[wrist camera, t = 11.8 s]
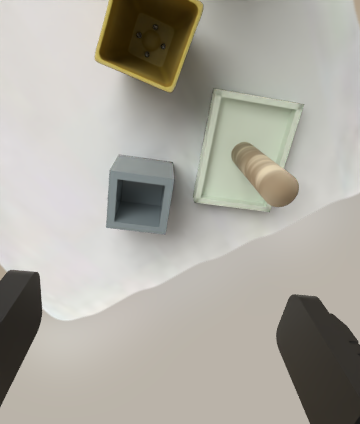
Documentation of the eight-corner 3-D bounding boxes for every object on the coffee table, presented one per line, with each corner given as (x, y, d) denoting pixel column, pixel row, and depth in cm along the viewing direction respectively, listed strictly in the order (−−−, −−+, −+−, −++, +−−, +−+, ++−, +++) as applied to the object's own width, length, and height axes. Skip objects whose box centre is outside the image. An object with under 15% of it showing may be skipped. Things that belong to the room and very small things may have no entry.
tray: (213, 88, 40) (216, 89, 37) (296, 102, 41) (304, 104, 39) (192, 196, 46) (194, 202, 44) (264, 205, 47) (269, 212, 45)
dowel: (234, 140, 42) (268, 170, 28) (258, 144, 42) (303, 176, 28) (228, 164, 43) (258, 204, 30) (251, 167, 44) (292, 209, 30)
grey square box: (118, 154, 43) (109, 170, 35) (172, 162, 44) (174, 179, 36) (115, 203, 46) (106, 227, 39) (165, 210, 47) (165, 234, 40)
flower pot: (170, 91, 39) (172, 94, 31) (108, 63, 38) (92, 60, 30) (196, 20, 36) (205, 3, 28) (128, -14, 34) (118, -41, 26)
